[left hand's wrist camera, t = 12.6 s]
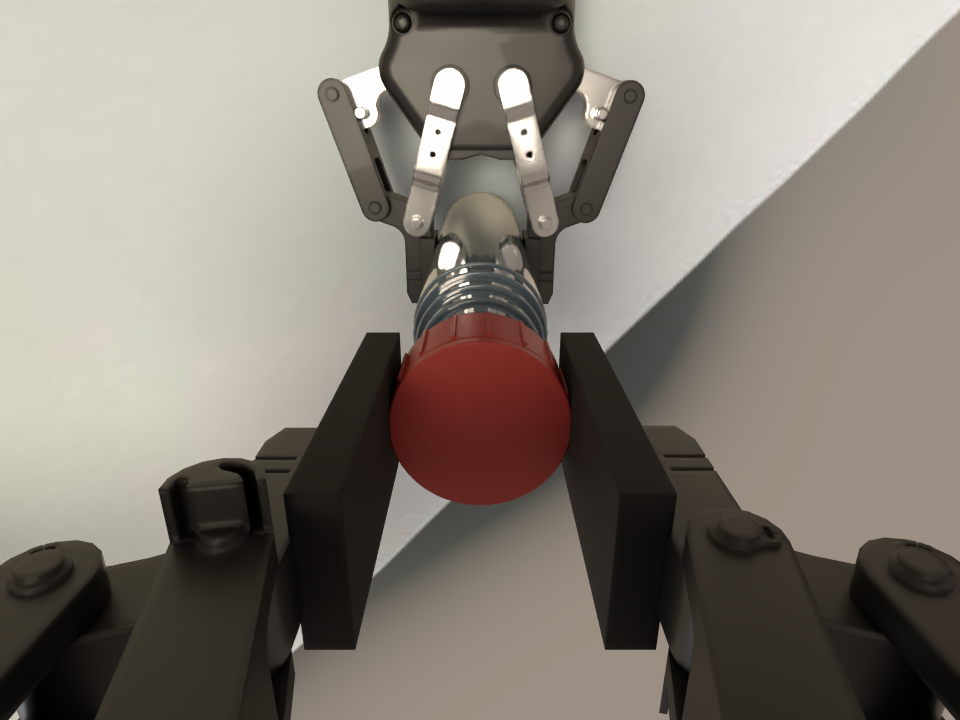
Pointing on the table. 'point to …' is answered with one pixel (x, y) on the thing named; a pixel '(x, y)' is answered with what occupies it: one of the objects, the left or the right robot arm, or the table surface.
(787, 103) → the table surface
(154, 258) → the table surface
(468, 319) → the cap
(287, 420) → the table surface
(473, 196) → the bottle
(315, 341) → the table surface
